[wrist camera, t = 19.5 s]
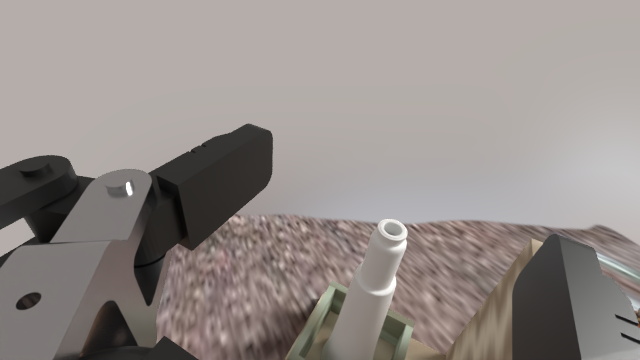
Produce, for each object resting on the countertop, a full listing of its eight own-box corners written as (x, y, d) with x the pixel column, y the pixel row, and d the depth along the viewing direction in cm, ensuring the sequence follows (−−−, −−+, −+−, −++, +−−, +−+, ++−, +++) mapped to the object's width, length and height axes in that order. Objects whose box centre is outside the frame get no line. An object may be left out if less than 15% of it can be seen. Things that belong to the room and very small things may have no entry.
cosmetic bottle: (371, 395, 34) (440, 268, 21) (317, 384, 34) (350, 252, 21) (371, 339, 38) (427, 208, 25) (323, 331, 39) (354, 196, 26)
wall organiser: (324, 295, 44) (348, 170, 31) (452, 363, 39) (547, 244, 26) (256, 412, 32) (250, 289, 19) (426, 534, 27) (579, 474, 14)
